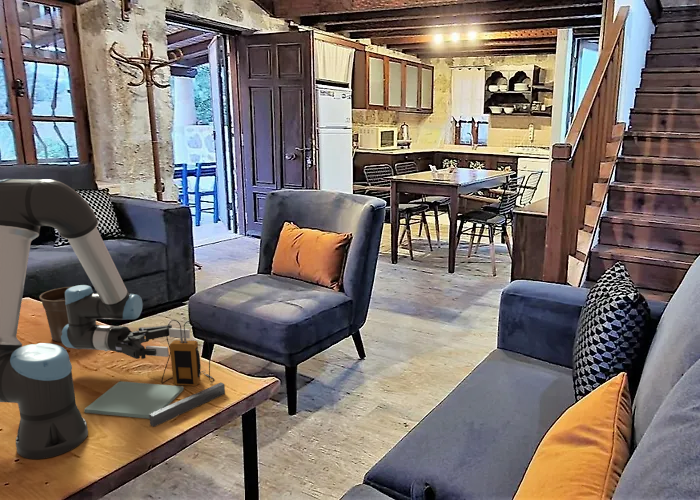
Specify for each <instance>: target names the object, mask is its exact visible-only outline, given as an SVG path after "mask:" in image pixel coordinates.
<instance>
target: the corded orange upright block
mask: <svg viewBox="0 0 700 500" xmlns="http://www.w3.org/2000/svg"><path fill="white" fill-rule="evenodd" d="M173 321H174V322H176V323H178V324H179V329H180V331H181V329H182V325H181V323H180V321H178V320H177V319H172V320H169V323H168V324H167V325H168V326H169V325H171V323H172V322H173ZM191 322H193V323H196V324H197V325H199V327H200V328H201V330H202V332H203V334H204V336H205V340H206V342H207V348H208V374H207V373H205V372H206V370H203V371H201V369H202V368H201V367H202V366H201V356H200V351H199V344H198V341H197V340H187V338H186V335H185V329H186V328H185V327H186V325H187V323H191ZM168 326H167V329H168ZM167 329H166V337H165V338H166V341H167V344H168V350H169V356H168V357H167V358H168V359H167V361H166V364H165V368H164V370H163V373H162V374H163V375H162V378H161V385H164V383H166V382H168V381H169V380H173V386H193V387H197V386H198V385H199V384H200V383H201V373H203V374H204V375H205V376H206V377H208V378H209V379H208V380H209V382H210V383H213V382H214V381H215V378H214V377H213V376H211V349H210V344H209V340H208V337H207V334H206V332H205V330H204V328H203V327H202V325H201V324H200V323H199V322H198V321H195V320H188V321H186V322H185V323H184V324H183V329H184V338H183V337H182V332H181V337H180V338H179V339H180V340H178V339H174V340H173V341H171V343H170V342H169V339H168V337H169V336H167ZM169 359H170V361H171V363H170V364H171V371H172V377H170V378H168V379H166V380H165V381H163V380H164V377H165V372H166V369H167V366H168V363H169ZM211 379H212V380H211Z"/></svg>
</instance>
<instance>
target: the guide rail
mask: <svg viewBox="0 0 700 500" xmlns="http://www.w3.org/2000/svg"><path fill="white" fill-rule="evenodd" d="M225 388H226V387H225V383H223V382H218V383H216V384H214V385H211V386H209V387H207V388H205V389H203V390H200V391H199V392H196V393H194V394H191V395H189V396H187V397H185V398H182V399H180V400H177V401H175V402H173V403H170V404H169V405H168V406H166V407H164V408H162V409H160V410H157V411H155V412H153V413H151V414H149V418H150V419H149V426H151V427H153V428H154V427H157V426H160V425H161V424H163V423H165V422H166V423H167V421H168V422H169V420H172V419H175V418H176V417H178V416H181V415H182V414H185V413H187V412H189V411H191V410H193V409H195V408H198V407H200V406H202V405H204V404H206V403H209V402H210V401H212V400H215V399H217V398H219V397H221V396H223V395H225V394H226V389H225Z"/></svg>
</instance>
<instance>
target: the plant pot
mask: <svg viewBox="0 0 700 500" xmlns="http://www.w3.org/2000/svg"><path fill="white" fill-rule="evenodd" d="M70 287H71V286H64V287H58V288H54V289H50V290H47V291H45V292H42V293H41V294H40V295H39V300H40V301H41V303H42V308H43V309H44V311H45V315H46V320H47V324H48V327H49V332H50V337H51V339H52V340H53V341H54V342H56V343H58V342H59V343H62V341H61V336H62V330H63V328H64V327H65V326H66V325H67V324H69V322H68V316H67V310H66V305H65V303H66V302H65V291H66V290H67V289H68V288H70Z"/></svg>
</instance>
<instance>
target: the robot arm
mask: <svg viewBox="0 0 700 500" xmlns="http://www.w3.org/2000/svg"><path fill="white" fill-rule="evenodd" d="M98 226H99V220H98V218H97V216H96V213H95V212H94V210H93V209H92V208H91V206H90V204H89V203H88V202H87V201H86V199H85V198H83V196H81V195H80V194H79V193H78V192H77V191H76V190H75V189H73V188H72V187H70V186H69V185H68V184H65V183H64V182H61V181H59V180H55V179H50V178H49V179H48V178H45V179H43V178H42V179H32V178H30V179H28V178H27V179H24V178H23V179H22V178H21V179H20V178H5V179H0V403H8V404H9V403H12V404H15V403H16V404H17V405H18V411H19V417H20V418H19V424H18V429H17V433H16V435H17V436H16V438H15V447H16V448H15V449H16V452H17V454H18V456H20V457H22V458H24V459H29V460H30V459H32V460H41V459H48V458H53V457H57V456H60V455H62V454H63V455H64V454H65V453H67V452H70V451H72V450H73V449H75V448H77V447H79V445H81V444H82V443H83V442H84V441H85V440H86V439H87V436H88V435H89V430H88V424H87V423H88V422H87V421H86V419H85V418H84V417H82V413H81V410H80V408H79V407H78V405H77V403H76V395H75V393H76V392H75V388H74V381H73V380H74V379H73V371H72V370H73V368H72V367H73V365H72V363H71V361H70V360H71V359H70V356H69V353H68V352H67V349H66V348H69V349H76V350H97V351H104V352H108V351H109V352H110V351H111V352H116V353H120V354H124V355H126V356H128V357H131V358H133V359H135V360H136V359H137V360H139V359H140V358H141V360H144V359H147V357H146V356H149V357H150V356H151V357H165V358H169V355H170V350H169V346H161V345H146V346H144V345H143V343H147V342H149V341H150V340H155V339H159V338H167V337H169V338H177V339H180V337H181V332H182V337H183V339H184V328H181V331H180V328H174V327H173V326H172V324H169V326H168V324H166V325H158V326H147V327H146V326H145V327H138V330H134V331H132V330H131V329H130V328H129V327H128V326H125V325H123V326H121V325H109V324H97V319H101V320H103V319H104V320H121V321H122V320H123V321H125V320H136V319H138V318H139V317H140V316H141V313H142V311H143V305H144V304H143V300H142V297H141V296H140V295H139V294H137V293H136V294H134V293H129V291H128V289H127V287H126V285H125V282H124V281H123V279H122V277H121V274H120V273H119V270H118V269H117V266H116V264H115V262H114V260H113V258H112V256H111V254H110V252H109V250H108V248H107V246H106V244H105V242H104V240H103V238H102V236H101V234H100V231H99V229H98ZM41 227H52V228H54V229H55V230H57V231H58V234H59V236H61V238H63V239H65V240H68V243H69V245H70V246H71V249H72V250H73V252H74V254H75V255H76V257H77V259H78V260H79V263H80V265H81V266H82V268H83V270H84V272H85V274H86V275H87V277H88V279H89V280H90V282H91V284H92V286H93V288H94V290H95V291H96V293H94V291H93V288H92V287H91V285H87V284H80V285H79V284H78V285H75V286H74V285H73V286H69V287H70V288H68V289H67V290H66V291H65V302H66V303H65V305H66V310H67V316H68V322H69V324H67V325H66V326H65V327H64V328H63V330H62V336H61V344H62V345H64V346H65V348H64V347H63V346H61V345H59V344H55V343H49V342H38V343H35V344H33V343H30V344H27V345H26V344H25V345H23V343H22V342H21V341H20V340H19V339H18V337H17V335H18V334H17V333H18V327H19V321H20V315H21V309H22V302H23V295H24V289H25V282H26V276H27V268H28V264H29V257H30V250H31V243H32V241H33V240H35V239H36V238H38V237H39V236H40V231H41ZM167 326H168V329H167ZM166 329H167V337H166ZM185 335H186V339H190V338H191V329H190V328H185Z"/></svg>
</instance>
